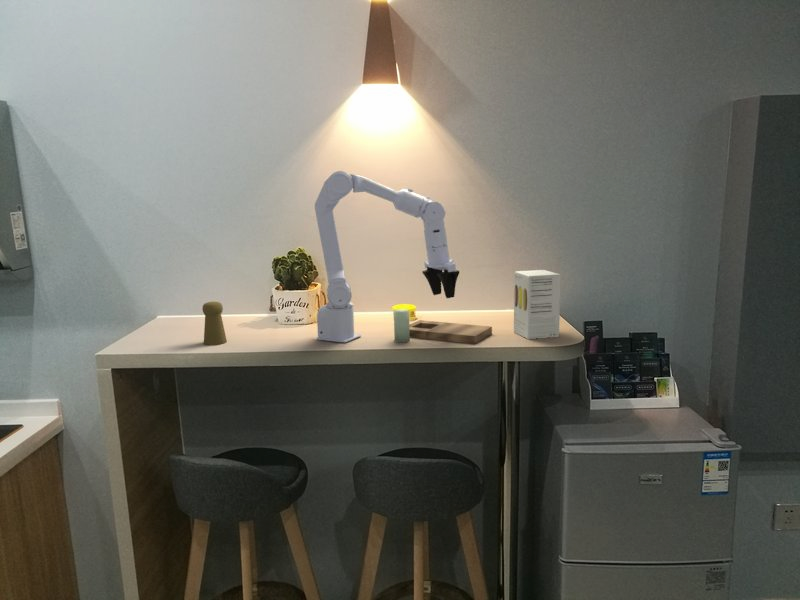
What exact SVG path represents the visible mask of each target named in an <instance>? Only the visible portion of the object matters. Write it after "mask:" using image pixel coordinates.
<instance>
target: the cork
mask: <svg viewBox="0 0 800 600" xmlns="http://www.w3.org/2000/svg"><path fill="white" fill-rule="evenodd" d="M223 310H224V308H223V304H222V303H221V302H220V301H208V302H205V303H204V304H203V305H202V314H203V315H204V332H203V345H205V346H219V345H224V344H226V343H227V336H226V332H225V331H226V330H225V326H224V322H223V317H222V314H223Z"/></svg>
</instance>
